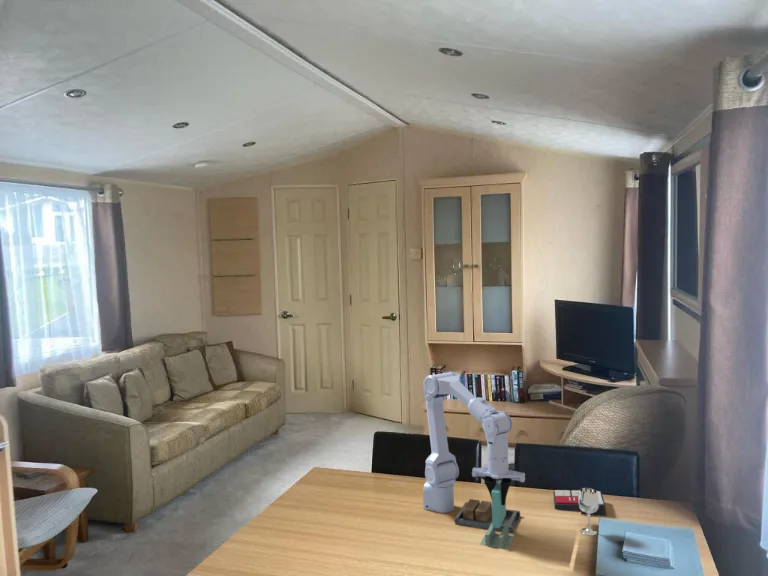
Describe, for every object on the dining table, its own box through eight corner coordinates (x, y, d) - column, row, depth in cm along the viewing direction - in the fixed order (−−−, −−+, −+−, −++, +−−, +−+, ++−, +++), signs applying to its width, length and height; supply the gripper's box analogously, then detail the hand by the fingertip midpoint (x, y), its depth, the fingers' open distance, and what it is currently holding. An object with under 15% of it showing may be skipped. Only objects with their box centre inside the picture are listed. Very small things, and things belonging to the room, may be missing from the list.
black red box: (553, 488, 197) (601, 489, 194) (554, 501, 198) (602, 502, 194) (554, 502, 187) (605, 502, 183) (555, 515, 187) (606, 516, 183)
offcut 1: (463, 522, 180) (463, 509, 179) (470, 511, 187) (470, 499, 187) (473, 523, 178) (472, 510, 178) (479, 512, 186) (479, 500, 186)
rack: (455, 527, 179) (454, 517, 178) (466, 511, 190) (465, 502, 189) (512, 536, 172) (512, 525, 172) (520, 519, 183) (520, 509, 183)
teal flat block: (492, 527, 166) (491, 491, 165) (499, 513, 174) (498, 480, 174) (499, 528, 165) (498, 492, 164) (506, 514, 173) (505, 480, 173)
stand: (479, 547, 165) (479, 533, 165) (486, 535, 173) (486, 521, 173) (508, 552, 162) (508, 538, 162) (514, 539, 170) (514, 525, 169)
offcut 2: (475, 524, 178) (475, 510, 178) (482, 513, 185) (481, 500, 185) (485, 525, 177) (485, 512, 177) (491, 514, 184) (491, 501, 184)
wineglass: (599, 528, 175) (598, 488, 174) (599, 537, 169) (599, 495, 169) (578, 526, 177) (577, 486, 176) (578, 535, 171) (577, 493, 171)
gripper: (469, 457, 168) (470, 505, 168) (521, 463, 162) (522, 512, 163) (475, 450, 174) (476, 496, 175) (525, 455, 169) (526, 502, 169)
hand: (498, 503), depth 169 cm, fingers closed on teal flat block, 2 cm apart
